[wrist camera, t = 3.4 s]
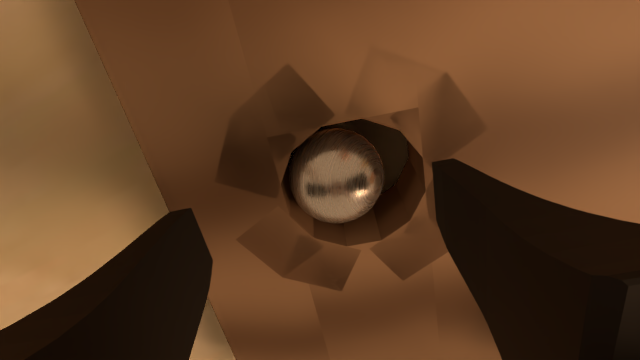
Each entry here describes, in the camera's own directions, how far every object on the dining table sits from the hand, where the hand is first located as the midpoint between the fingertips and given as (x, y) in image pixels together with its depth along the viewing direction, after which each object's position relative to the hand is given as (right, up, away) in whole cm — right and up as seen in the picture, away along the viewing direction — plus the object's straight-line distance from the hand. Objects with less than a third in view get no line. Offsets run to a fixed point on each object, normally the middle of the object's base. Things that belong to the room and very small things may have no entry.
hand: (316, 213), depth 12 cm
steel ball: (+1, +1, +2) cm, 2 cm away
